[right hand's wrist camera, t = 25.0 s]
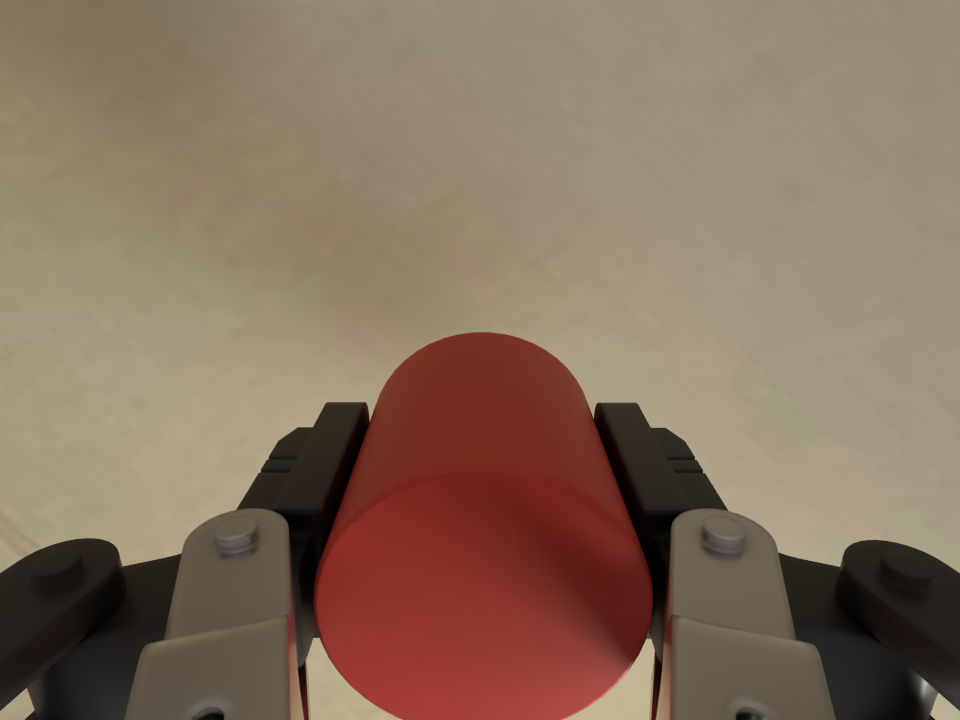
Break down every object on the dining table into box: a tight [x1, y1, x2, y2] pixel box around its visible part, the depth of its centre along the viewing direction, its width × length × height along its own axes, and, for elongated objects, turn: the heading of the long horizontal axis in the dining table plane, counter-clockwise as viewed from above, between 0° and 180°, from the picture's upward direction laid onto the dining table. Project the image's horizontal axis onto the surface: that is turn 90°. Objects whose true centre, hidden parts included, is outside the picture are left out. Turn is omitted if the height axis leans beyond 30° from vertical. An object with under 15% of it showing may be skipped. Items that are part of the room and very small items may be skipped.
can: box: [313, 332, 653, 720], centre depth 10 cm, size 4×4×5 cm
